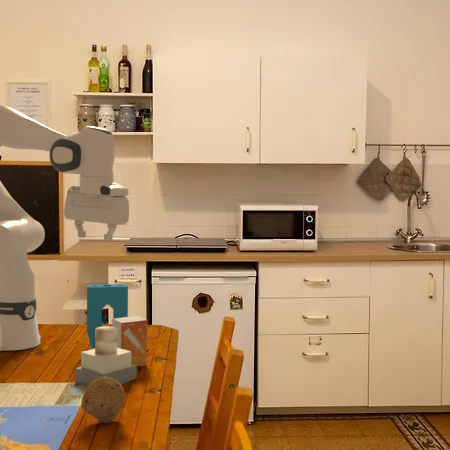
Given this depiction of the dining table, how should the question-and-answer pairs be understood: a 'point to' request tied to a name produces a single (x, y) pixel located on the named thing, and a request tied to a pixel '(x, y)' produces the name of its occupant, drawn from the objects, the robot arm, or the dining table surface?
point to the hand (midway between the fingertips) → (94, 238)
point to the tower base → (106, 375)
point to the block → (99, 299)
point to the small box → (132, 337)
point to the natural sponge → (103, 399)
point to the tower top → (106, 361)
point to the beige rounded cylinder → (106, 340)
